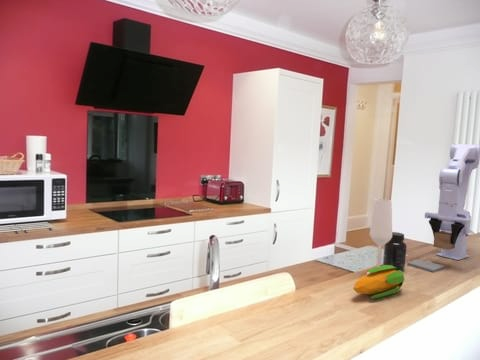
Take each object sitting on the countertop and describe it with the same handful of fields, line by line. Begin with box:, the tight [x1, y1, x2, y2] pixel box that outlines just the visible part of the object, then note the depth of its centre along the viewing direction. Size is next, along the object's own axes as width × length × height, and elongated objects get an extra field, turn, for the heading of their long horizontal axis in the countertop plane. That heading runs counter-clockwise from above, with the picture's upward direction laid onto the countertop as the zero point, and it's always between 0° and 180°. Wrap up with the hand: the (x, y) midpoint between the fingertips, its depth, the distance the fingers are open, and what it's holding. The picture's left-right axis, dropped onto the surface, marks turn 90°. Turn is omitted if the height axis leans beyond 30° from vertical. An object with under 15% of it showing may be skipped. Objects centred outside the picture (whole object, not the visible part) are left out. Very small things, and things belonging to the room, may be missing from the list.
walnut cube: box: [432, 230, 455, 250], centre depth 133 cm, size 5×5×5 cm
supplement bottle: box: [382, 231, 407, 272], centre depth 128 cm, size 7×7×12 cm
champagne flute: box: [366, 198, 393, 275], centre depth 119 cm, size 7×7×24 cm
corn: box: [353, 264, 406, 300], centre depth 105 cm, size 7×8×20 cm
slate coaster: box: [406, 258, 446, 273], centre depth 131 cm, size 8×9×1 cm
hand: (444, 241), depth 133 cm, fingers closed on walnut cube, 5 cm apart
